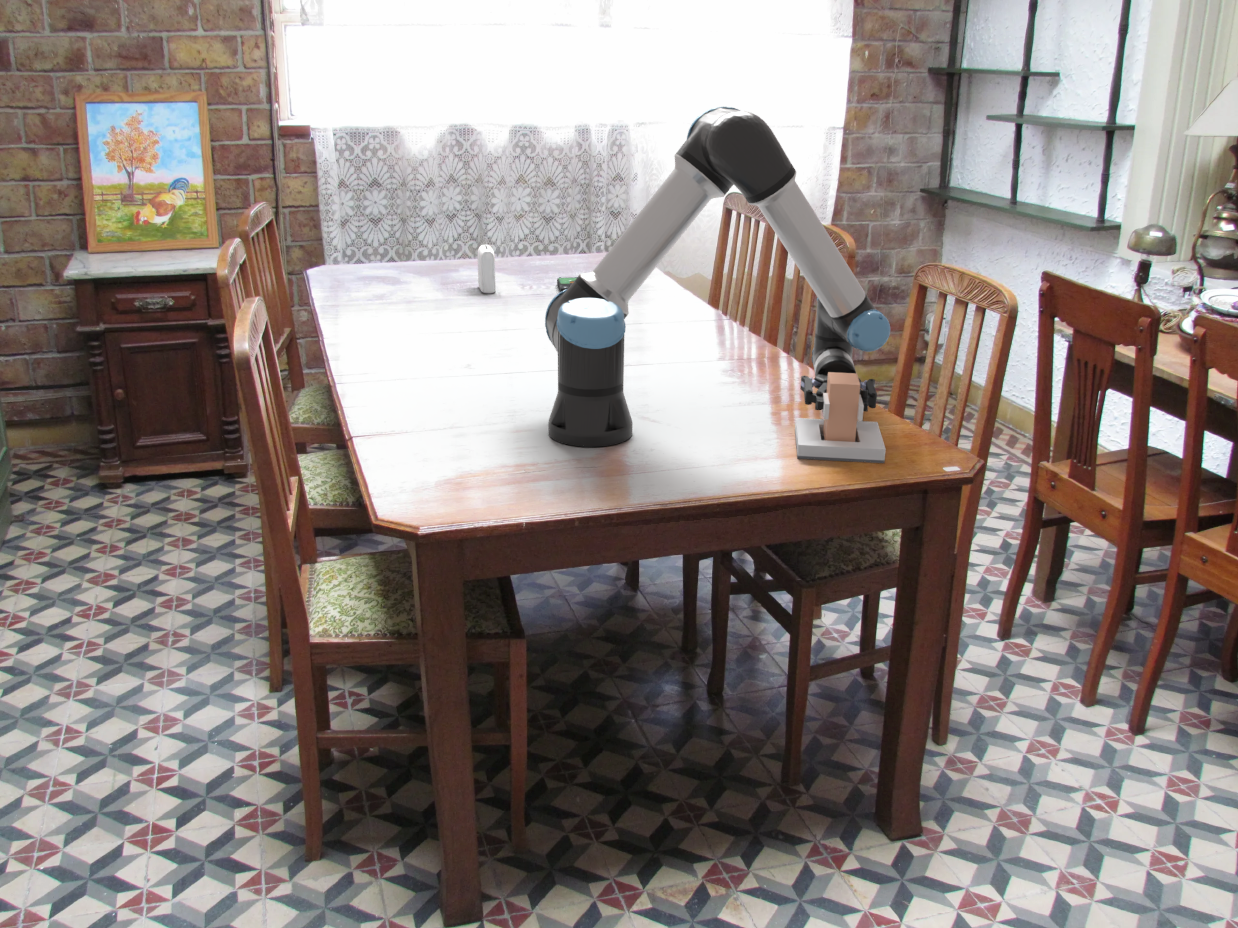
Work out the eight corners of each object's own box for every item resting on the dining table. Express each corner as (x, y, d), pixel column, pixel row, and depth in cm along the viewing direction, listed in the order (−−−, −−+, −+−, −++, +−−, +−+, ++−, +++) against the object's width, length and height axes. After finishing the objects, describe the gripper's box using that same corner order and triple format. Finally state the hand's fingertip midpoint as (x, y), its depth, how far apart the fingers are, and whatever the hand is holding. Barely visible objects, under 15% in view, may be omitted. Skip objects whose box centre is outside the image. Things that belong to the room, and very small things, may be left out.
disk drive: (598, 298, 312) (592, 285, 326) (598, 287, 311) (592, 276, 325) (560, 298, 311) (556, 286, 325) (560, 288, 310) (556, 276, 323)
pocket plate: (797, 458, 195) (798, 444, 194) (794, 430, 208) (795, 417, 207) (884, 463, 193) (885, 449, 192) (876, 435, 207) (877, 421, 206)
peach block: (825, 444, 197) (830, 383, 193) (823, 431, 204) (828, 372, 200) (854, 446, 197) (860, 385, 193) (851, 432, 203) (856, 373, 199)
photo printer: (477, 286, 321) (475, 242, 316) (492, 285, 322) (491, 241, 317) (481, 294, 311) (479, 248, 307) (496, 293, 312) (495, 248, 308)
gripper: (882, 395, 215) (895, 436, 193) (785, 391, 217) (788, 430, 195) (885, 357, 212) (900, 394, 191) (788, 352, 214) (791, 388, 192)
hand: (843, 412), depth 193 cm, fingers closed on peach block, 5 cm apart
